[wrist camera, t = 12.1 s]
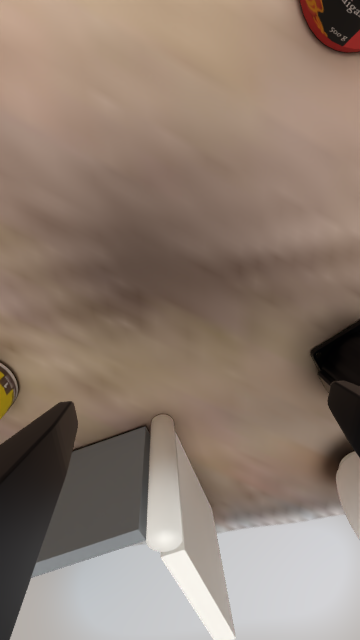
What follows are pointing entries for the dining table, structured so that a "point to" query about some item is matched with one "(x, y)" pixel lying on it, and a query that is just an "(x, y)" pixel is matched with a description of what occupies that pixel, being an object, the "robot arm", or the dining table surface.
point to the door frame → (186, 529)
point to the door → (99, 502)
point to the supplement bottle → (7, 389)
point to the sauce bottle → (350, 489)
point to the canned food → (334, 22)
